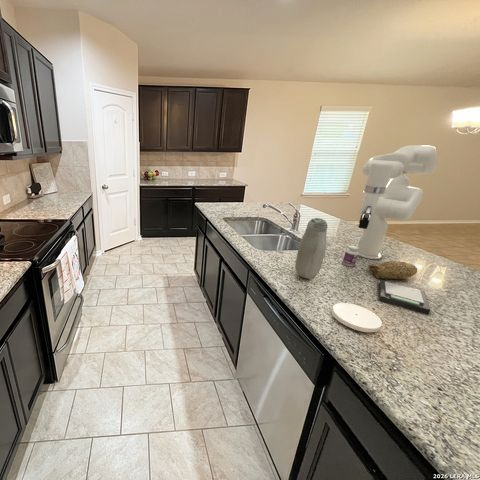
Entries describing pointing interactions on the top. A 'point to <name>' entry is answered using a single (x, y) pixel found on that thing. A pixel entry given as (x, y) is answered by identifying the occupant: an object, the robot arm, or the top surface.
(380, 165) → the robot arm
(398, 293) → the scale
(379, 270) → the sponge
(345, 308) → the plastic lid
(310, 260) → the gray vase
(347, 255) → the pill bottle
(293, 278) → the top surface
